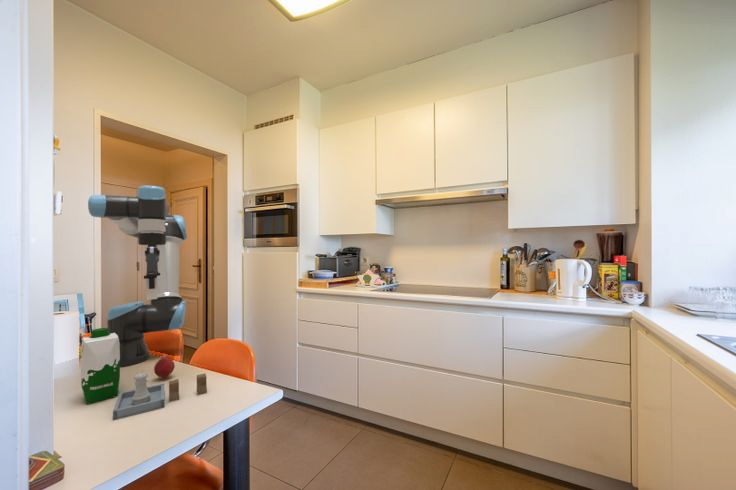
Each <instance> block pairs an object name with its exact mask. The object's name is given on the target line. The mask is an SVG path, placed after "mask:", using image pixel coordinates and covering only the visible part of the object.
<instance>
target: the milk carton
mask: <svg viewBox="0 0 736 490" xmlns="http://www.w3.org/2000/svg"><path fill="white" fill-rule="evenodd" d="M119 346H120V343H119V337H118V335H116V334H115V333H111V334H110V333H109V334H108V327H102V328H94V329H92V330H91V331H90V336H87V337H86V336H85V337H83V338H82V342H81V349H80V353H81V356H80V357H81V358H80V359H81V360H80V366H81V367H80V369H81V370H80V373H81V374H80V377H81V378H80V380H81V388H82V393H83V396H84V400H85V404H86V405H92V404H94V403H95V404H96V403H99V402H102V401H105V400H108V399H113V398H115V397H116V398H117V397H118V396H119V387H120V376H121V367H120V348H119Z"/></svg>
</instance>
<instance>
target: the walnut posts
mask: <svg viewBox="0 0 736 490" xmlns="http://www.w3.org/2000/svg"><path fill="white" fill-rule="evenodd" d="M207 388H208V387H207V374H206V373H199V374H196V394H197V396H199V395H204V394H207ZM179 400H180V380H179V378H176V379H172V380H169V381H168V402H169V403H170V402H174V401H179Z"/></svg>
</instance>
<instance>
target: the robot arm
mask: <svg viewBox="0 0 736 490" xmlns="http://www.w3.org/2000/svg"><path fill="white" fill-rule="evenodd" d="M166 197H167V195H166V190H165V188H164V187H161V186H155V185H141V186H139V187H138V190H137V196H126V195H125V196H124V195H108V194H106V195H105V194H92V195H90V196H89V198H88V202H87V209H88V212H89V215H90V216H91V217H94V218H101V219H103V218H107V219H108V220H110V221H112V222H113V223H114V224H116V225H117V228H118V229H119V230H120V231H121V232H122V233H123V234H125V235H127V236H130V237H133V238H136V239H138V241H137V243H138V245H140V246H147V247H146V250H144V256H145V262H146V273H145V275H143V279H146V301H149V300H150V303H149V304H145V302H144V301H134V302H128V303H124V304H123V303H122V304H119V305H115V306H112V307H110V308H109V309H108V311H107V318H106V321H107V322H106V323H107V328H108V334H109V333H110V334H111V333H115V334H116V335H118V337H119V343H120V346H119V348H120V368H122V367H128V366H132V365H136V364H139V363H142V362H144V361H146V360H149V358H150V350H149V348H148V345H147V343H146V341H145V334H147V333H156V332H164V331H166V332H167V331H170V332H171V331H173V330H179V329H181V328H182V327H183V325H184V323H185V318H186V310H187V301H184V300H183V299H184V298H183V297H182V296H181V295H180V294H179V293H180V291H179V290H180V246H181V245H183V244H184V241H185V240H187V239H188V236H187V230H186V223H185V218H184V217H183V216H182V215H178V214H170V207H169V204H168V203H167V199H166Z"/></svg>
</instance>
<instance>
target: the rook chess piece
mask: <svg viewBox="0 0 736 490" xmlns="http://www.w3.org/2000/svg"><path fill="white" fill-rule="evenodd" d="M148 377H149V375H148V374H147V371H142V372H137V373H135V376H134V378H133V380H135V383H134V385H135V389H134V390H135V394H134V396H133V397H132V400H133V401H132V402H131V403H132V404H134V405H138V404H142V403H146V402H148V401H149V400H150V398H151V397H150V393H149V392H148V390H147V387H148V386H147V382H148V380H147V378H148Z"/></svg>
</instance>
